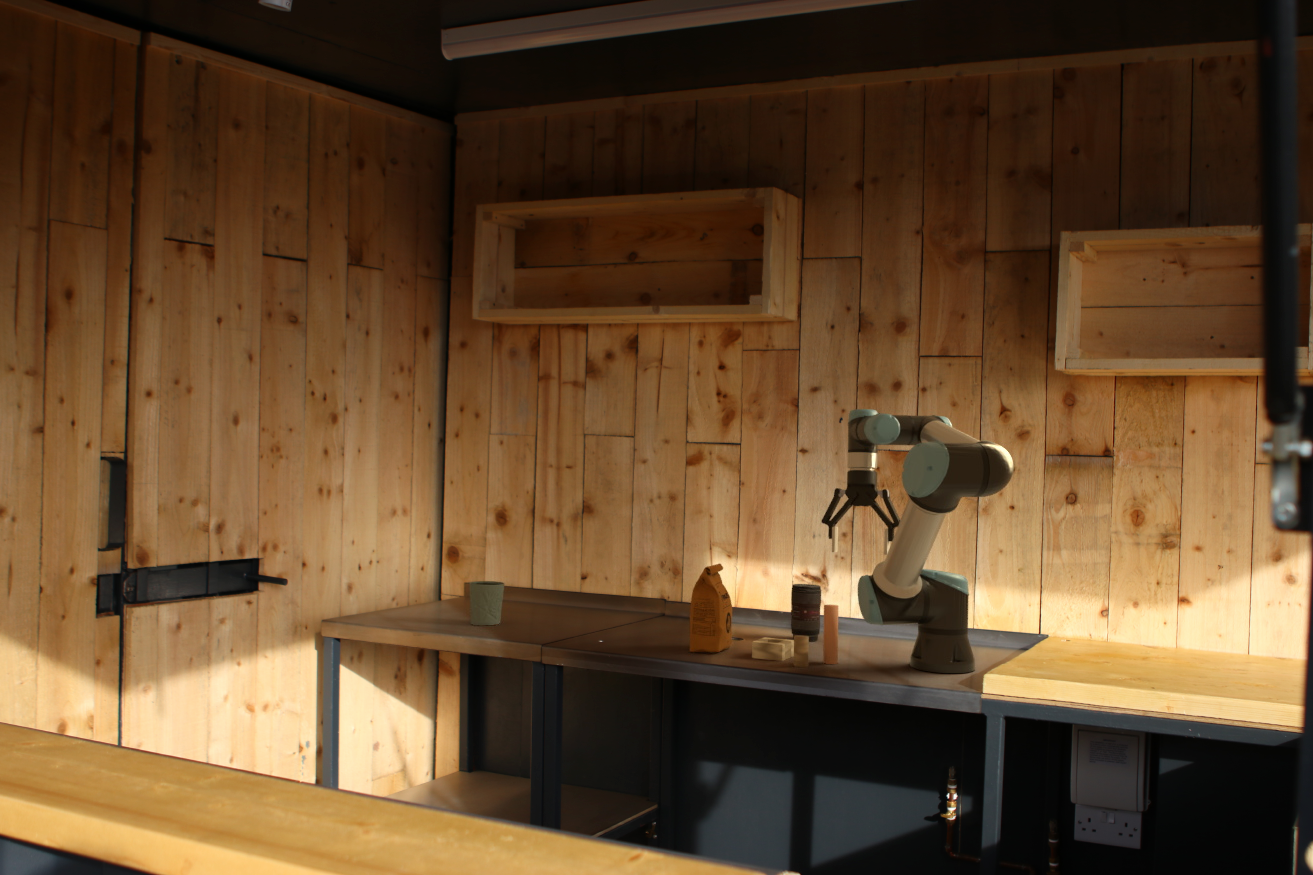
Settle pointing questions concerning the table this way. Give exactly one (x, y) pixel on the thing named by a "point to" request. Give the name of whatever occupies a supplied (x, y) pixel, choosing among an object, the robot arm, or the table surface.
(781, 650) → the collar block
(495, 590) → the green plant pot
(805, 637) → the short dowel
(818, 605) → the camera lens
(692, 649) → the coffee package
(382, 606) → the table surface
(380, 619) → the table surface
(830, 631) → the long dowel
